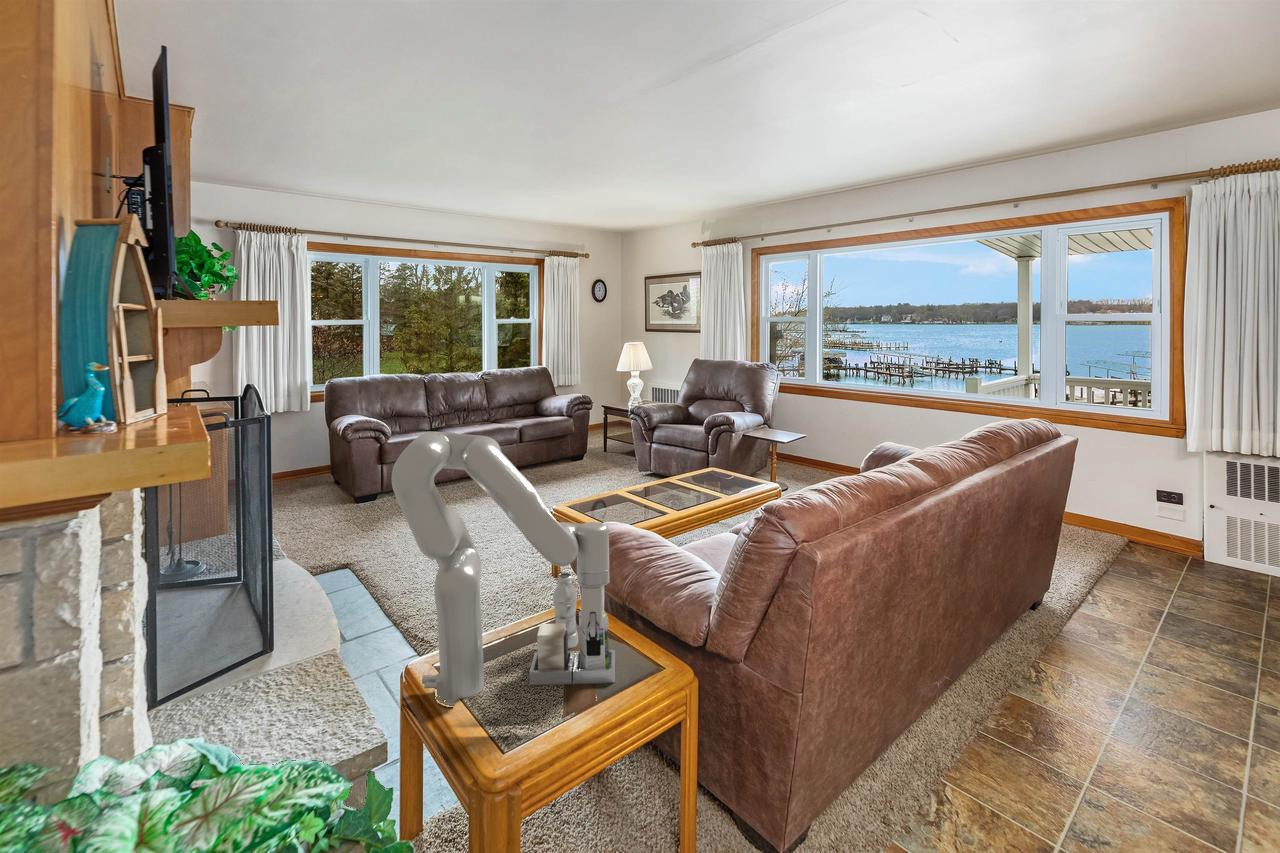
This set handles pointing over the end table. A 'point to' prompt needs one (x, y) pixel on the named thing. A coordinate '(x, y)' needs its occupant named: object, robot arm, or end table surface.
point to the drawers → (573, 672)
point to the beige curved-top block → (552, 647)
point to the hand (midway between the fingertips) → (594, 645)
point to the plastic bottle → (566, 607)
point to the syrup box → (603, 659)
